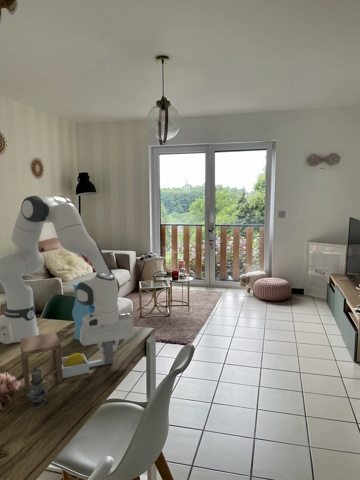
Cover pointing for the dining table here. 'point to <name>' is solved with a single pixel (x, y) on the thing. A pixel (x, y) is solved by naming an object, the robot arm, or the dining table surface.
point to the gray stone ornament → (37, 390)
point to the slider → (85, 366)
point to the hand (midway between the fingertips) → (108, 351)
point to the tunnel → (41, 345)
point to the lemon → (74, 360)
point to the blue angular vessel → (80, 314)
